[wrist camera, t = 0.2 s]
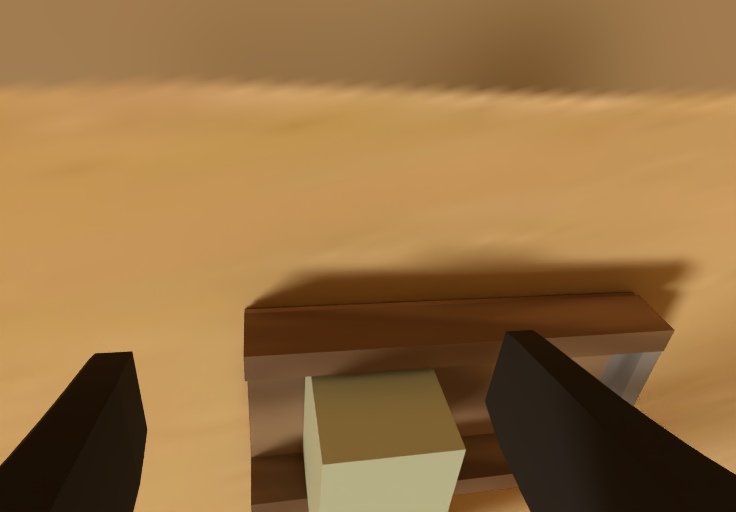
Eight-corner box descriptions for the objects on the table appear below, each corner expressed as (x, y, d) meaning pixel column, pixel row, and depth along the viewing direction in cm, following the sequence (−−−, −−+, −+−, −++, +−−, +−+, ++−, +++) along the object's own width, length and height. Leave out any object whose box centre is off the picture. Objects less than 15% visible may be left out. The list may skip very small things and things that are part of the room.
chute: (585, 431, 30) (614, 475, 28) (251, 466, 26) (251, 520, 24) (651, 289, 25) (694, 329, 23) (244, 307, 21) (243, 357, 19)
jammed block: (400, 439, 27) (434, 557, 22) (302, 449, 26) (315, 575, 21) (419, 335, 23) (465, 449, 18) (306, 341, 22) (322, 464, 17)
